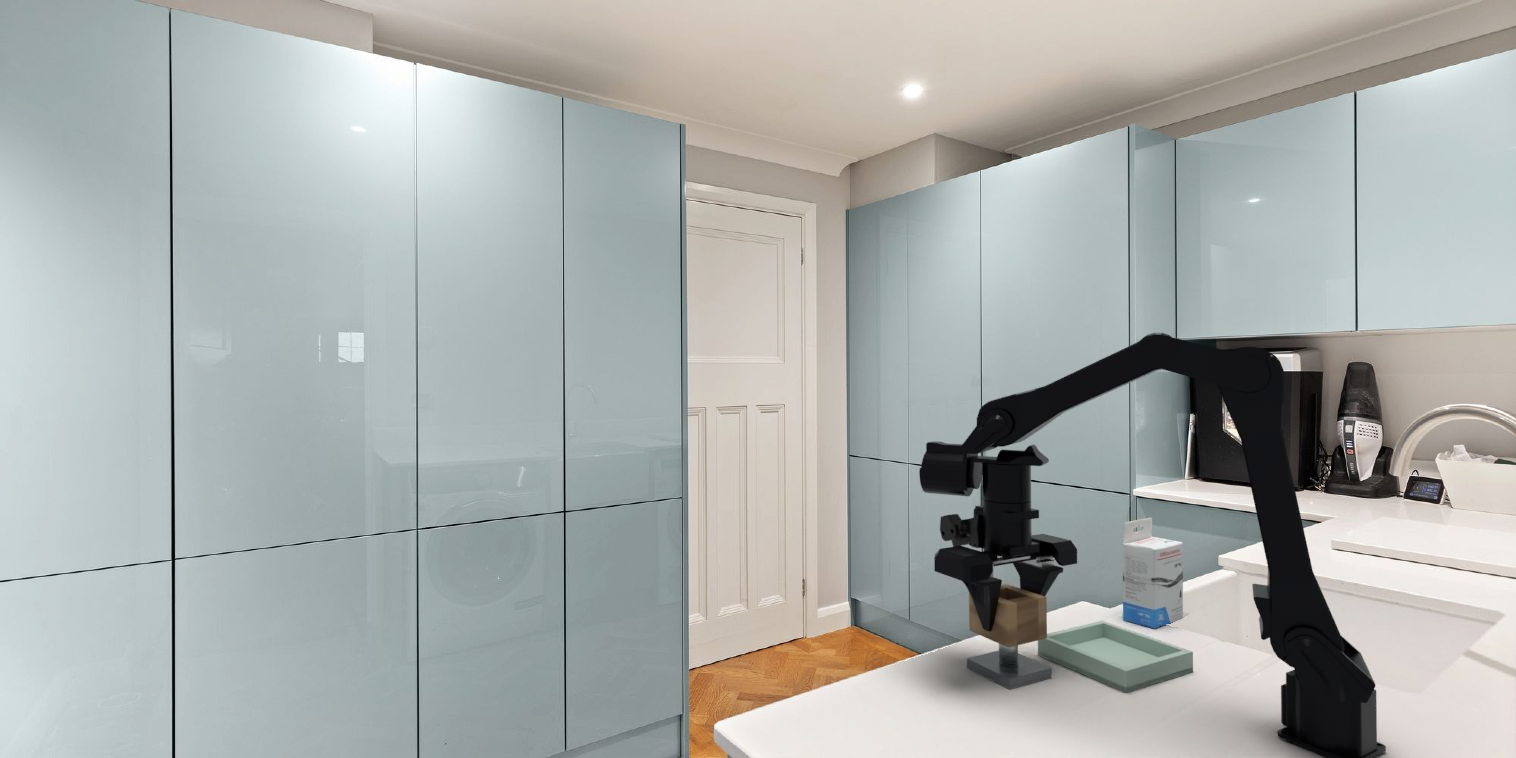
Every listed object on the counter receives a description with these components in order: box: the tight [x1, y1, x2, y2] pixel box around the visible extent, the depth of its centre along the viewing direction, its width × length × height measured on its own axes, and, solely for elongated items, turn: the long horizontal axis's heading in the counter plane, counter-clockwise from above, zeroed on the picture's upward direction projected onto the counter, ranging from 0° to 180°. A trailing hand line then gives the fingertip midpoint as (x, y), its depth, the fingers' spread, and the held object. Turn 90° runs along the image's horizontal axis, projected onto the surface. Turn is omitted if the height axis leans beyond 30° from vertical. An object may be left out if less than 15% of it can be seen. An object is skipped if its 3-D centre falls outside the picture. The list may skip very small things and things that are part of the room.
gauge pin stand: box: [966, 643, 1053, 690], centre depth 86 cm, size 7×7×7 cm
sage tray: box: [1037, 620, 1194, 693], centre depth 89 cm, size 13×13×2 cm
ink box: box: [1122, 516, 1184, 629], centre depth 105 cm, size 8×5×15 cm, turn 123°
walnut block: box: [968, 583, 1048, 648], centre depth 86 cm, size 6×6×5 cm
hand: (1007, 625), depth 86 cm, fingers closed on walnut block, 6 cm apart
